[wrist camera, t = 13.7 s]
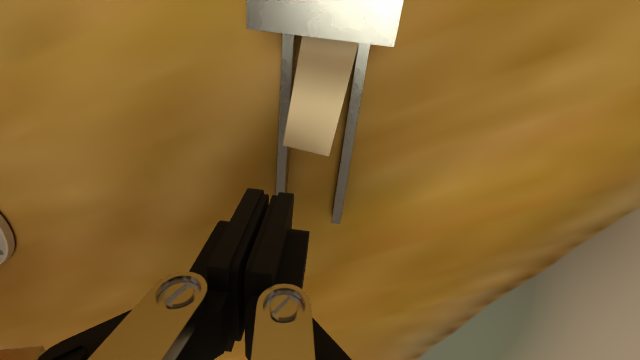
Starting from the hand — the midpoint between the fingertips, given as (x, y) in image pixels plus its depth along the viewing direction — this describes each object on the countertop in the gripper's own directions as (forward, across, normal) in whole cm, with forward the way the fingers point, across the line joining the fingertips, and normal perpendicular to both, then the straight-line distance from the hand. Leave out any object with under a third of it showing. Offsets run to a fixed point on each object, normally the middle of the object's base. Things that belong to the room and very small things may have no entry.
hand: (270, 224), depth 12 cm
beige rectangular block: (+17, -1, -4) cm, 17 cm away
